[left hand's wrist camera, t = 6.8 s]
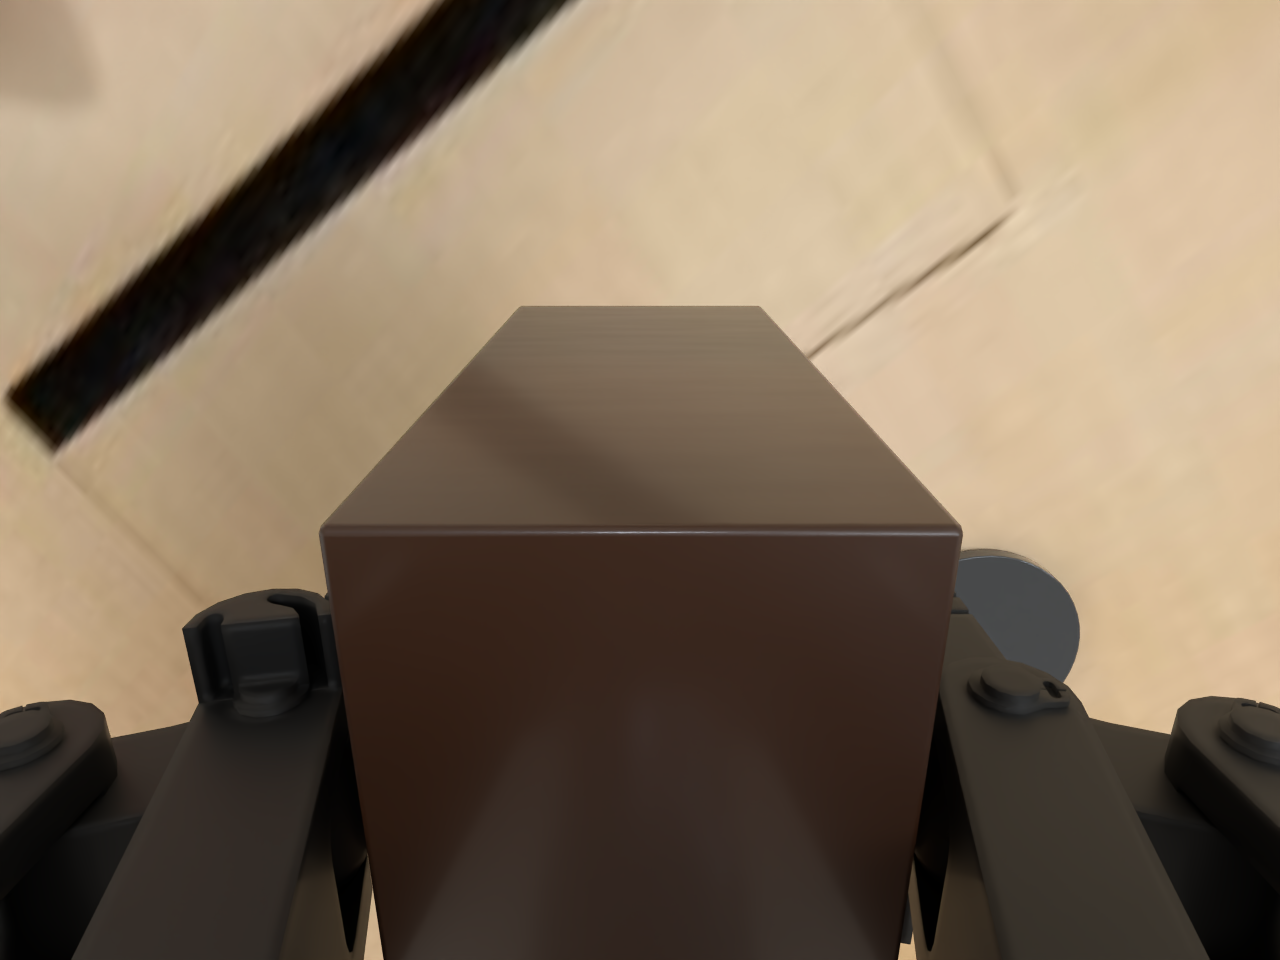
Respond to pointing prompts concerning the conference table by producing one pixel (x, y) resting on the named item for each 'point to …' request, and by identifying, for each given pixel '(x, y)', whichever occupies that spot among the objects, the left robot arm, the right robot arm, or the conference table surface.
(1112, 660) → the conference table surface
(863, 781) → the bar
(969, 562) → the coaster
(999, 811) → the left robot arm
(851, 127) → the conference table surface
